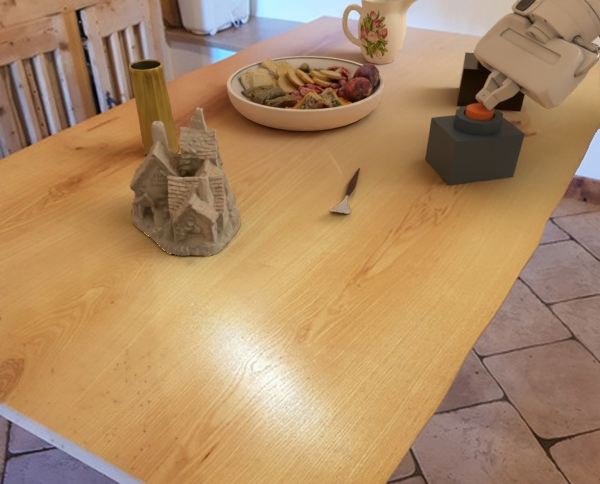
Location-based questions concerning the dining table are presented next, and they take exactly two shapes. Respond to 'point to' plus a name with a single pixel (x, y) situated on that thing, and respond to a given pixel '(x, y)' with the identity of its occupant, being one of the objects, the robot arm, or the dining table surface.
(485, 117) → the orange push button
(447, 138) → the button housing
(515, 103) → the base unit
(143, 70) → the vase
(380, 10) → the pitcher
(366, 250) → the dining table surface
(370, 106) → the bowl
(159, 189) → the ceramic cottage
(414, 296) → the dining table surface
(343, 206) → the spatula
